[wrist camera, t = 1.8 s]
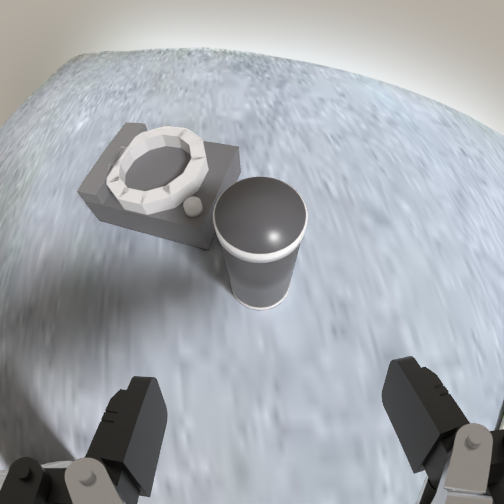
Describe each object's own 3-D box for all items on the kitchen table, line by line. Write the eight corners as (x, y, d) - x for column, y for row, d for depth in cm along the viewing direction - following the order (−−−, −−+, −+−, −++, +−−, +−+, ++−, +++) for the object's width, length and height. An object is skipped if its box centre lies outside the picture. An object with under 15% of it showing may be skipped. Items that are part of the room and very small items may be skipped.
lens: (222, 301, 23) (198, 240, 14) (240, 248, 25) (230, 168, 16) (281, 318, 23) (296, 266, 14) (296, 263, 25) (315, 186, 16)
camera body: (99, 220, 27) (77, 191, 23) (139, 155, 31) (126, 122, 26) (208, 250, 25) (197, 218, 21) (240, 171, 29) (237, 134, 25)
